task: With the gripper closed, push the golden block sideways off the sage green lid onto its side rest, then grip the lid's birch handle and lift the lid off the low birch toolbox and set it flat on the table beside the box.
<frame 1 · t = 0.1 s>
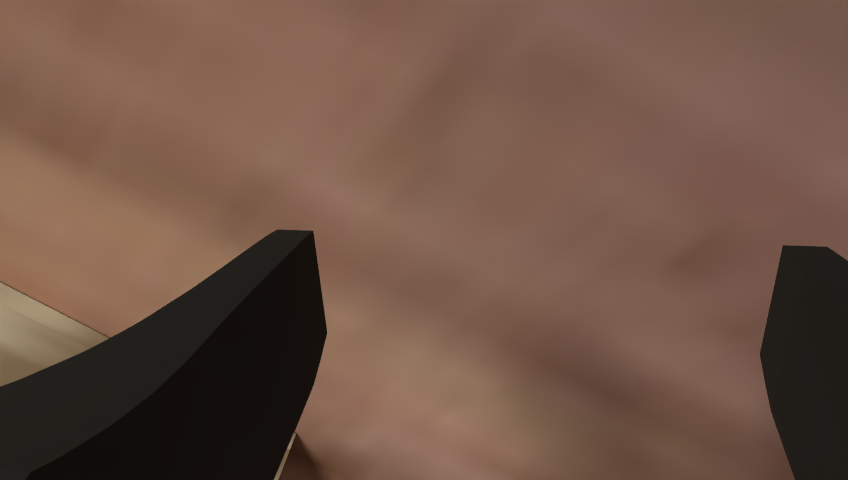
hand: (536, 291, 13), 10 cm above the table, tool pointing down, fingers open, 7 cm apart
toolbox: (44, 408, 31), on the table
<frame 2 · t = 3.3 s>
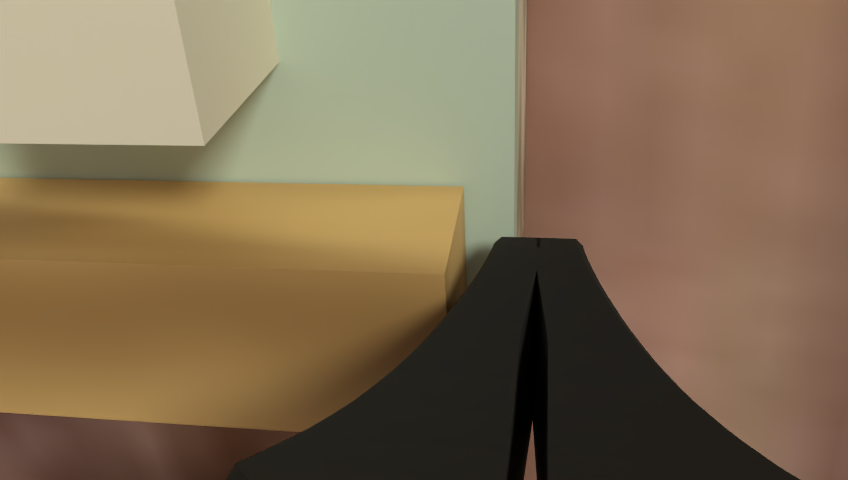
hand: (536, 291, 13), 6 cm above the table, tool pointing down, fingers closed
golden block: (122, 297, 13), point 7 cm above the table, slide at 1.3 cm, touching gripper
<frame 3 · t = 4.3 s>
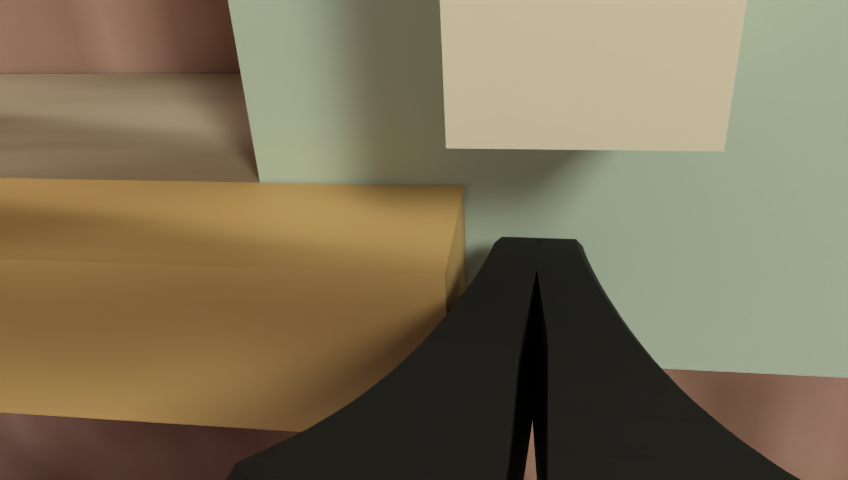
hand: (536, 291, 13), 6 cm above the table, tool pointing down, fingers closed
golden block: (122, 297, 13), point 6 cm above the table, slide at 7.2 cm, touching gripper
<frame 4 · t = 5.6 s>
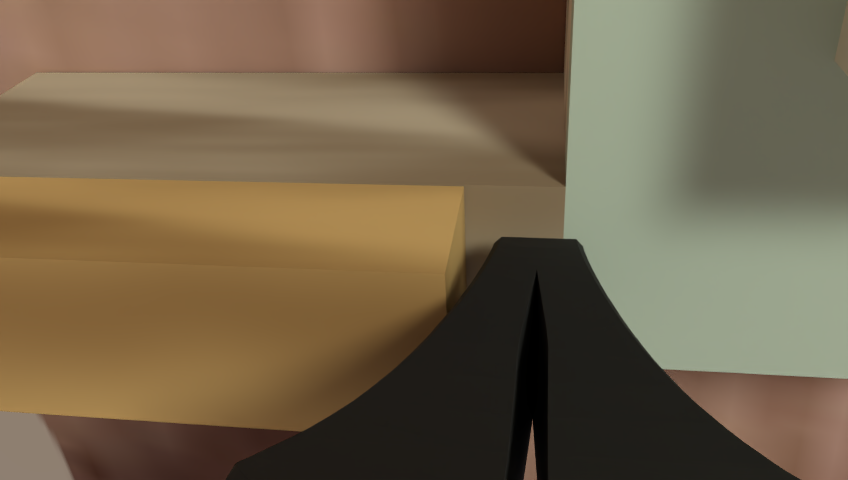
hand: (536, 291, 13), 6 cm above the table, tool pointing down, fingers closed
golden block: (122, 296, 13), point 7 cm above the table, slide at 12.1 cm, touching gripper
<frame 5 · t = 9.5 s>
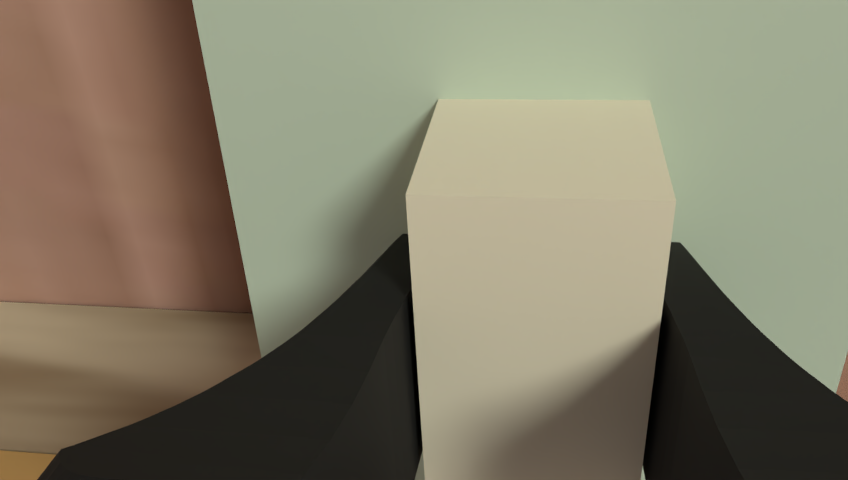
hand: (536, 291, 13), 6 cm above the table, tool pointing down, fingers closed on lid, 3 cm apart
lid: (539, 214, 15), point 3 cm above the table, touching gripper, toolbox
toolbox: (542, 142, 17), on the table
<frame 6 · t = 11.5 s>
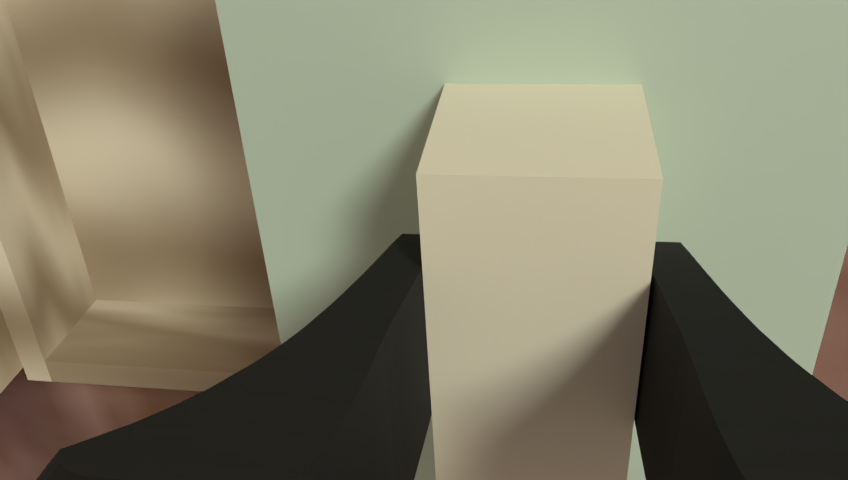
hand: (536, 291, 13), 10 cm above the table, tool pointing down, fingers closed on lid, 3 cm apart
lid: (539, 191, 16), point 7 cm above the table, touching gripper
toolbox: (179, 69, 23), on the table
when the fingers open (4 cm above the table, at t = 13.8 s): lid stays where it is, on the table.
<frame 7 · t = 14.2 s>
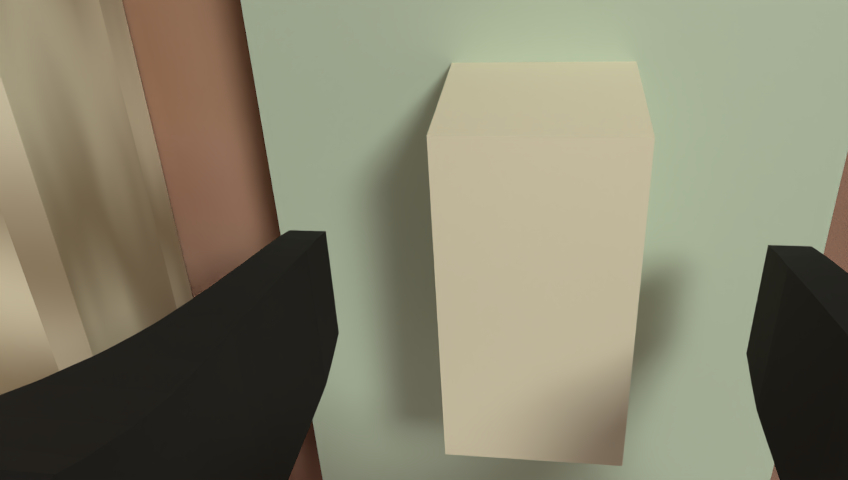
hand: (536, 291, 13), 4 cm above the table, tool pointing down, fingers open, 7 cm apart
lid: (541, 172, 16), on the table
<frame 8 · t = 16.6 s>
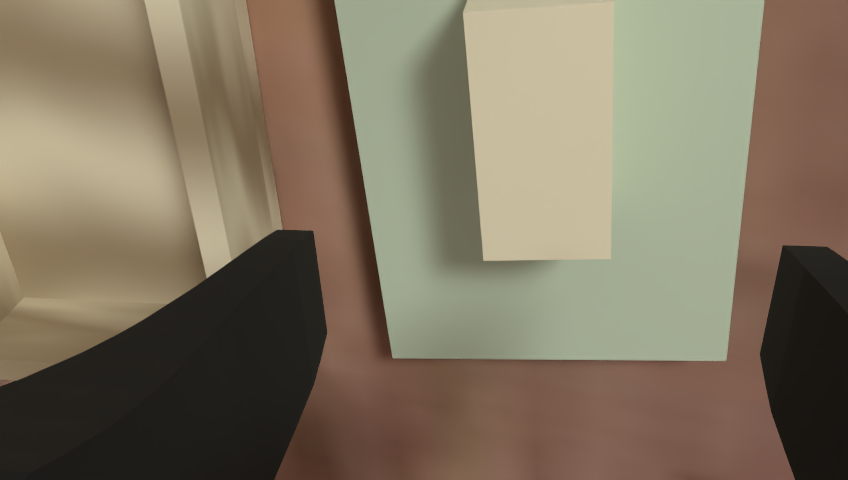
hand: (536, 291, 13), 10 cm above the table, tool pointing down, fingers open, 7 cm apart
lid: (545, 67, 22), on the table
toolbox: (91, 70, 23), on the table
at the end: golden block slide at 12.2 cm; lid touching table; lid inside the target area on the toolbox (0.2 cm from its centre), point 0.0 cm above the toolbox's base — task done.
